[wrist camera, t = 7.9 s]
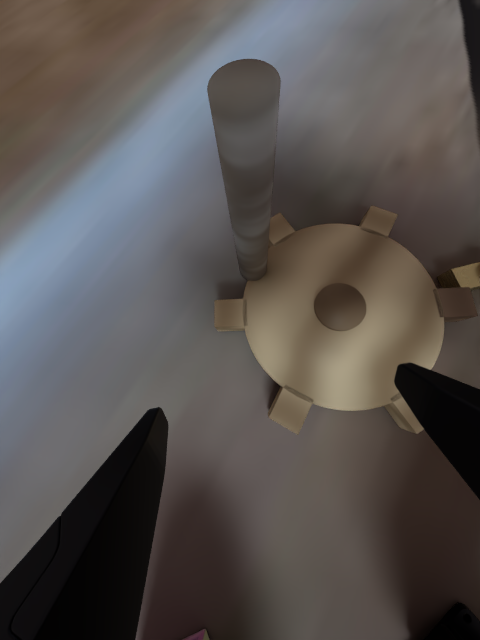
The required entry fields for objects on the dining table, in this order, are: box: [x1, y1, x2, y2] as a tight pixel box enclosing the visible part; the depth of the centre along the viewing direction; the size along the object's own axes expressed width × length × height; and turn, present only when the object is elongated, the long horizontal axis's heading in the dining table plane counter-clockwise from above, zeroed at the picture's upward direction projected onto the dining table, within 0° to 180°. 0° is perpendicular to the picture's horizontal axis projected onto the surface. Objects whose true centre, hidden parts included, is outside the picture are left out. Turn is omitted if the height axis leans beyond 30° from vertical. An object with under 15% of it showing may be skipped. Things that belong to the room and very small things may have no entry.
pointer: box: [437, 262, 480, 291], centre depth 19 cm, size 5×2×2 cm, turn 104°
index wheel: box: [207, 59, 478, 435], centre depth 13 cm, size 19×21×15 cm
